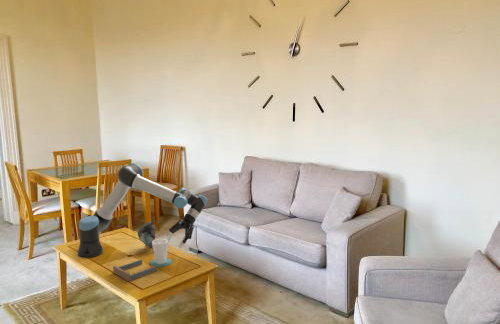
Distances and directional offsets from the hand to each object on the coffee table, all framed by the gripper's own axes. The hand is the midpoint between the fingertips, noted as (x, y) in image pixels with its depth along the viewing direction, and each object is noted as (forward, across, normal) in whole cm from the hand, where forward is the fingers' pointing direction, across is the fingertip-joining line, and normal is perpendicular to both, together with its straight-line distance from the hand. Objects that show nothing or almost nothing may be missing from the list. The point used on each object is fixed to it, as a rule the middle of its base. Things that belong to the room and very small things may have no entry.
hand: (172, 244), depth 236 cm
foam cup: (+13, 0, 0) cm, 13 cm away
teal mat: (+13, 0, 0) cm, 13 cm away
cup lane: (+25, 0, +12) cm, 28 cm away
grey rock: (+6, +27, -7) cm, 29 cm away
